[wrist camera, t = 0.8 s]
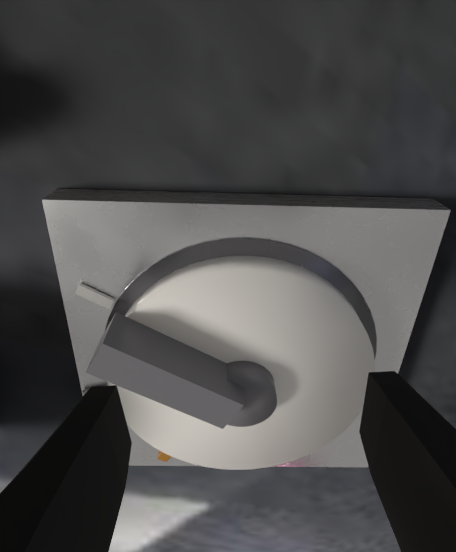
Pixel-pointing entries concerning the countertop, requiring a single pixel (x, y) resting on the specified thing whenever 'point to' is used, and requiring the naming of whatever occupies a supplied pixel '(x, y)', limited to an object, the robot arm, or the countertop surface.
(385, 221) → the dial plate
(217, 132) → the countertop surface
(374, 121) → the countertop surface
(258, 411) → the dial
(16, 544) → the robot arm
